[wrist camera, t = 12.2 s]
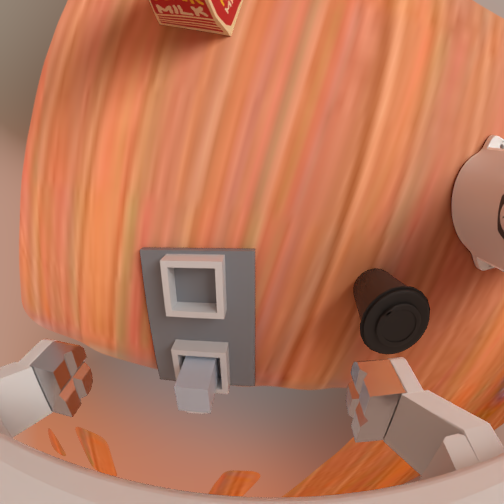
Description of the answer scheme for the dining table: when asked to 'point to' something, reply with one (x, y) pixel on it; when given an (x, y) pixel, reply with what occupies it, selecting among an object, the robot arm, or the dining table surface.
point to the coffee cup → (389, 312)
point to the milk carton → (198, 14)
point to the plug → (197, 384)
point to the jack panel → (202, 310)
